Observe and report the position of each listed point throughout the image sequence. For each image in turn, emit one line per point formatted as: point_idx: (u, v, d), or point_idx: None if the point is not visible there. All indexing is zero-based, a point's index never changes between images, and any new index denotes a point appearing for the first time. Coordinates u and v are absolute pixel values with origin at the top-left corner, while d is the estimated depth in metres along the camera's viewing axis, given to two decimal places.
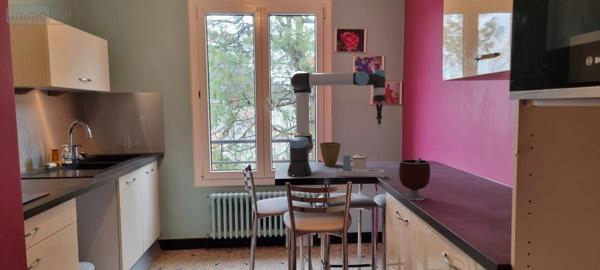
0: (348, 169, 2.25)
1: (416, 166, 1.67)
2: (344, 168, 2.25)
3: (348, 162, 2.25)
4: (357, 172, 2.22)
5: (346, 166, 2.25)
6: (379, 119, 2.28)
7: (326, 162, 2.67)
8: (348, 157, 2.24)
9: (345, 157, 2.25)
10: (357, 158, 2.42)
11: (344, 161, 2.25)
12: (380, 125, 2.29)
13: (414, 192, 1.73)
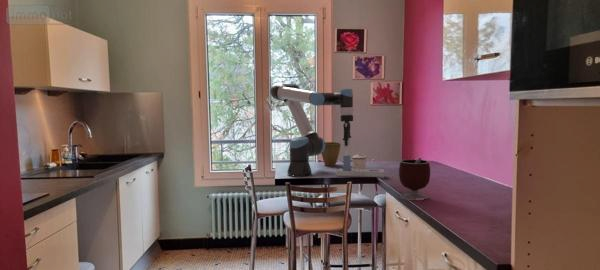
0: (348, 169, 2.25)
1: (416, 166, 1.67)
2: (344, 168, 2.25)
3: (348, 162, 2.25)
4: (357, 172, 2.22)
5: (346, 166, 2.25)
6: (346, 141, 2.17)
7: (326, 162, 2.67)
8: (348, 157, 2.24)
9: (345, 157, 2.25)
10: (357, 158, 2.42)
11: (344, 161, 2.25)
12: (347, 147, 2.19)
13: (414, 192, 1.73)
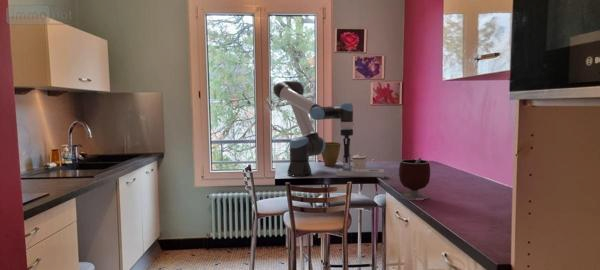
0: (348, 169, 2.25)
1: (416, 166, 1.67)
2: (344, 168, 2.25)
3: None
4: (357, 172, 2.22)
5: None
6: (346, 158, 2.23)
7: (326, 162, 2.67)
8: None
9: None
10: (357, 158, 2.42)
11: None
12: (347, 164, 2.24)
13: (414, 192, 1.73)
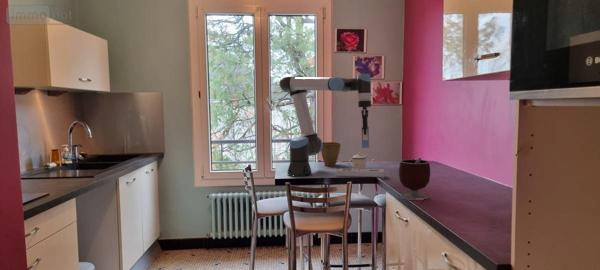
0: (367, 141, 2.21)
1: (416, 166, 1.67)
2: (363, 140, 2.21)
3: None
4: (357, 172, 2.22)
5: None
6: (365, 129, 2.19)
7: (326, 162, 2.67)
8: None
9: None
10: (357, 158, 2.42)
11: (362, 133, 2.21)
12: (366, 136, 2.20)
13: (414, 192, 1.73)
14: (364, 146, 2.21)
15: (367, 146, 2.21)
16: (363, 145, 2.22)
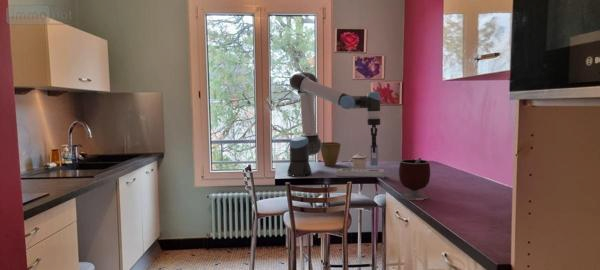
0: (375, 159, 2.21)
1: (416, 166, 1.67)
2: (371, 158, 2.22)
3: None
4: (357, 172, 2.22)
5: None
6: (374, 148, 2.19)
7: (326, 162, 2.67)
8: None
9: None
10: (357, 158, 2.42)
11: (371, 151, 2.21)
12: (375, 154, 2.20)
13: (414, 192, 1.73)
14: (373, 164, 2.22)
15: (376, 164, 2.21)
16: (372, 163, 2.22)
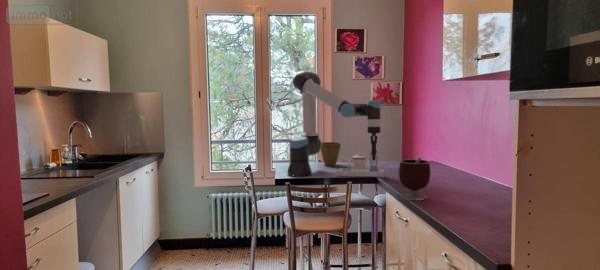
0: (375, 170, 2.22)
1: (416, 166, 1.67)
2: (371, 169, 2.22)
3: None
4: (357, 172, 2.22)
5: (373, 167, 2.22)
6: (373, 155, 2.18)
7: (326, 162, 2.67)
8: None
9: None
10: (357, 158, 2.42)
11: None
12: (375, 161, 2.19)
13: (414, 192, 1.73)
14: None
15: None
16: None
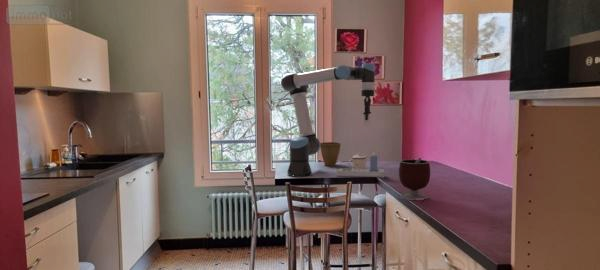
0: (375, 170, 2.22)
1: (416, 166, 1.67)
2: (371, 169, 2.22)
3: (375, 162, 2.21)
4: (357, 172, 2.22)
5: (373, 167, 2.22)
6: (366, 115, 2.18)
7: (326, 162, 2.67)
8: (375, 157, 2.21)
9: (372, 157, 2.22)
10: (357, 158, 2.42)
11: (371, 161, 2.22)
12: (367, 121, 2.19)
13: (414, 192, 1.73)
14: None
15: None
16: None
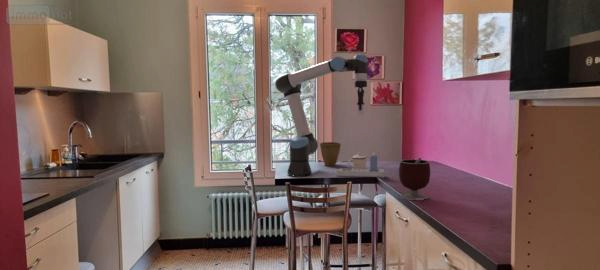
0: (375, 170, 2.22)
1: (416, 166, 1.67)
2: (371, 169, 2.22)
3: (375, 162, 2.21)
4: (357, 172, 2.22)
5: (373, 167, 2.22)
6: (360, 105, 2.22)
7: (326, 162, 2.67)
8: (375, 157, 2.21)
9: (372, 157, 2.22)
10: (357, 158, 2.42)
11: (371, 161, 2.22)
12: (361, 111, 2.24)
13: (414, 192, 1.73)
14: None
15: None
16: None
